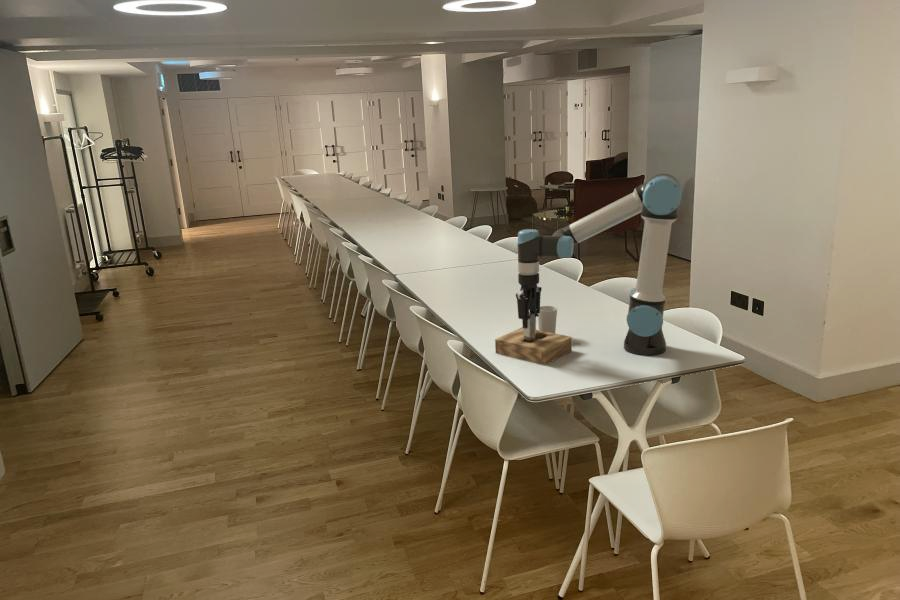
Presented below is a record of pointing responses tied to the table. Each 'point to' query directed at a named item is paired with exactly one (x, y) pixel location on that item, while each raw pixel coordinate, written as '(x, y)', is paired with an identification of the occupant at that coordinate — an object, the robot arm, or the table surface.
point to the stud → (531, 329)
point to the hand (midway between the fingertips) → (529, 334)
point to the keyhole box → (534, 346)
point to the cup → (547, 318)
